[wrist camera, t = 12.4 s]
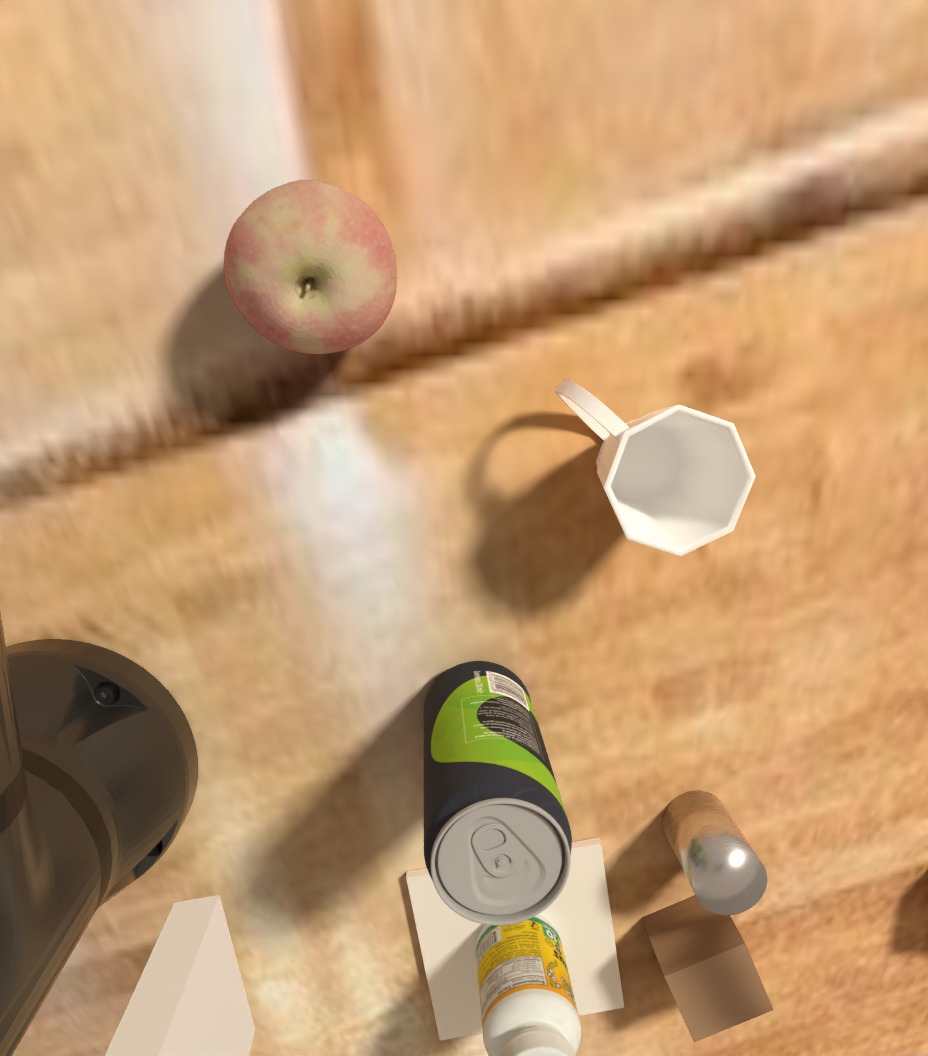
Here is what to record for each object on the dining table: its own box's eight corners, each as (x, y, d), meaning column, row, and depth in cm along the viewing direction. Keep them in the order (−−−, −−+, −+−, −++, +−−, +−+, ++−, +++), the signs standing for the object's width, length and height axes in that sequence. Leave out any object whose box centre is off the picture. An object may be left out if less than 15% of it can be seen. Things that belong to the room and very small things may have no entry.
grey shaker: (665, 854, 50) (698, 921, 44) (658, 797, 49) (691, 857, 43) (729, 842, 50) (769, 908, 44) (723, 785, 49) (763, 844, 43)
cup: (636, 546, 45) (681, 586, 37) (505, 431, 44) (523, 447, 36) (722, 452, 44) (787, 474, 37) (592, 331, 43) (630, 325, 35)
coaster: (439, 1033, 52) (439, 1041, 51) (406, 871, 49) (406, 877, 48) (622, 1000, 52) (624, 1007, 51) (598, 837, 49) (601, 843, 49)
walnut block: (668, 977, 52) (694, 1042, 47) (640, 916, 51) (664, 976, 46) (740, 947, 52) (773, 1009, 47) (714, 886, 50) (744, 943, 46)
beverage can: (407, 679, 46) (399, 829, 32) (506, 639, 46) (545, 772, 32) (448, 769, 48) (458, 953, 33) (544, 730, 48) (599, 898, 33)
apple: (232, 329, 42) (188, 324, 34) (265, 179, 40) (226, 137, 32) (380, 371, 43) (370, 375, 35) (417, 226, 41) (415, 196, 33)
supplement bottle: (470, 912, 49) (481, 1044, 40) (556, 900, 49) (587, 1028, 40) (480, 986, 50) (493, 1131, 41) (564, 974, 50) (596, 1115, 41)
